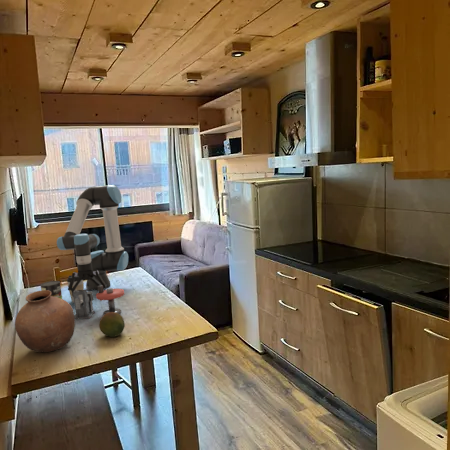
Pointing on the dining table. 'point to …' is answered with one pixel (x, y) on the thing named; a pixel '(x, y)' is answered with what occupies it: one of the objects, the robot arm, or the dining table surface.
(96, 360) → the dining table surface
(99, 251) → the robot arm
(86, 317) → the grey block assembly
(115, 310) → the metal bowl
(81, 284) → the coffee cup
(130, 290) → the dining table surface
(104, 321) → the fruit
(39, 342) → the pottery
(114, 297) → the pot lid
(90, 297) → the hook rod
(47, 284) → the coffee can
